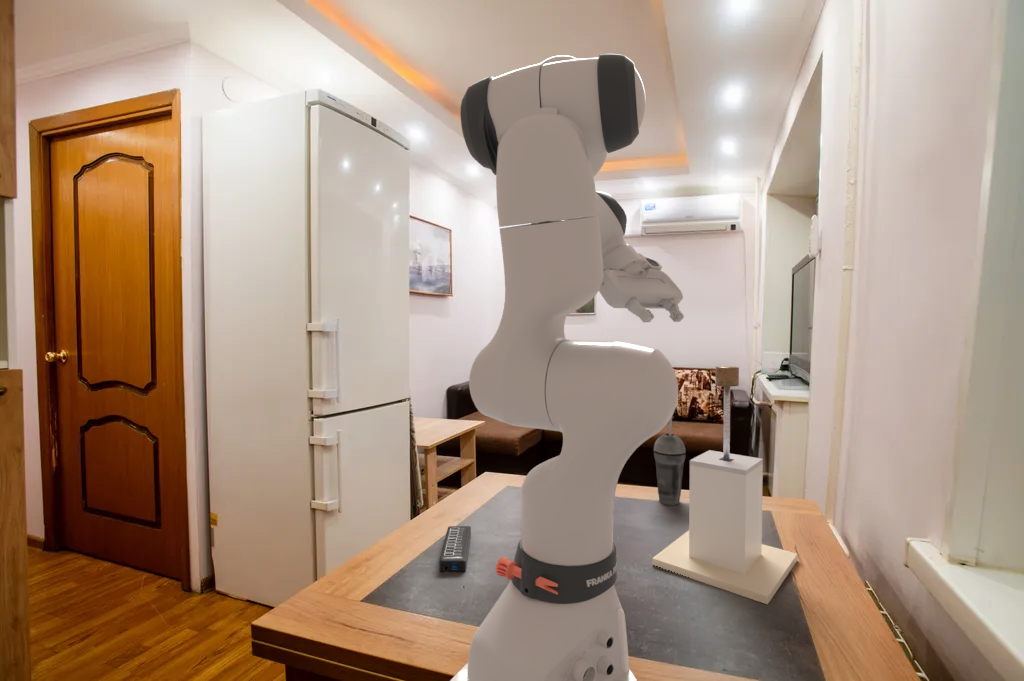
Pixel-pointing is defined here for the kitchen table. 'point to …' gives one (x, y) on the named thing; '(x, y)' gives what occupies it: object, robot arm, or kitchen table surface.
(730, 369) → the plunger
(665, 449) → the beverage cup
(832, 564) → the kitchen table surface
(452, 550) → the multiport hub
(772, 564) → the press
